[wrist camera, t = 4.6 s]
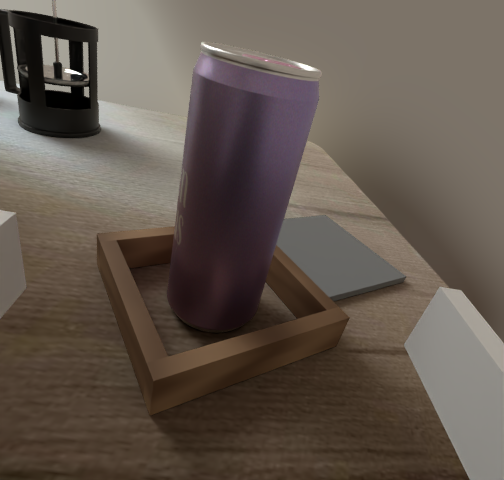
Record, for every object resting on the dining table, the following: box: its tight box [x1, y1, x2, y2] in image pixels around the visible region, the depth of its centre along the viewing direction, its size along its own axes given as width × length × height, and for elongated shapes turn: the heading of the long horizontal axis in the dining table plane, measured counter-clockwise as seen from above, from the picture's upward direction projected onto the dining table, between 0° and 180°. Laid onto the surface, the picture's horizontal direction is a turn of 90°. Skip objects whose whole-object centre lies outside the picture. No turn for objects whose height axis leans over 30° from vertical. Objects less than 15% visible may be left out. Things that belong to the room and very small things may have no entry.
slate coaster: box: [276, 215, 406, 301], centre depth 32 cm, size 11×11×1 cm
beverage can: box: [167, 42, 322, 333], centre depth 20 cm, size 6×6×15 cm
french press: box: [0, 0, 101, 138], centre depth 40 cm, size 12×9×23 cm
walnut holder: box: [97, 226, 349, 415], centre depth 23 cm, size 12×12×2 cm
